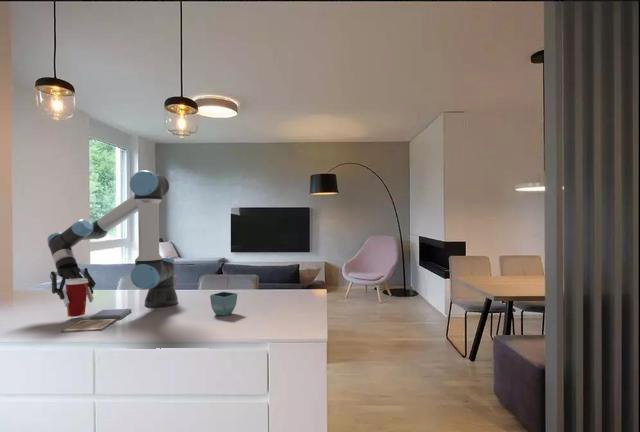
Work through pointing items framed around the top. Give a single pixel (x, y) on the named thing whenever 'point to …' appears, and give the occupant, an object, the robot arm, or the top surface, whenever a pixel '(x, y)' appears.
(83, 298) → the coffee cup
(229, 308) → the flower pot
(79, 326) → the wooden square board
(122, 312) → the pad
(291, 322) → the top surface
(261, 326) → the top surface
